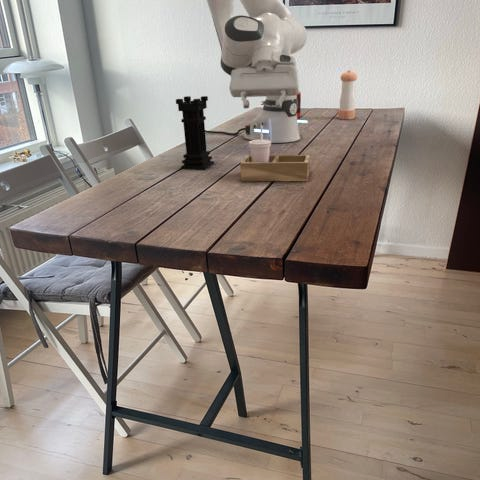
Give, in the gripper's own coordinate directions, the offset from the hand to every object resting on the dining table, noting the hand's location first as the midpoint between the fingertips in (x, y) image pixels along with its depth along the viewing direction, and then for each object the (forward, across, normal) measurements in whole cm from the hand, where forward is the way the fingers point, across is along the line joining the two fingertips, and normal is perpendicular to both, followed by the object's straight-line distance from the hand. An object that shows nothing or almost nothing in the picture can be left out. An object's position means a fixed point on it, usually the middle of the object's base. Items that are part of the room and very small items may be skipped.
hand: (262, 106), depth 143 cm
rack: (+19, +5, +6) cm, 21 cm away
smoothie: (+19, +1, +6) cm, 20 cm away
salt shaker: (-52, +24, +76) cm, 95 cm away
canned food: (-54, -1, +78) cm, 95 cm away
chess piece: (+11, -21, +14) cm, 28 cm away
